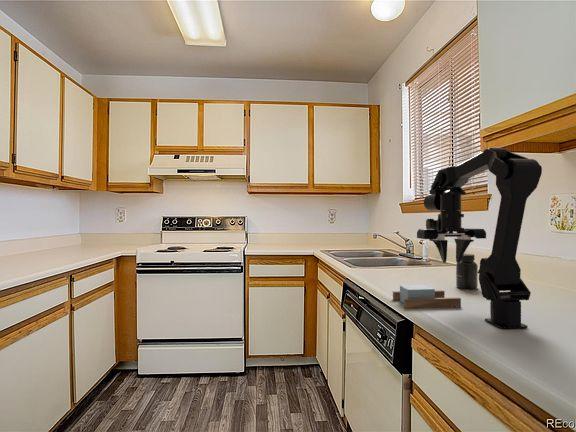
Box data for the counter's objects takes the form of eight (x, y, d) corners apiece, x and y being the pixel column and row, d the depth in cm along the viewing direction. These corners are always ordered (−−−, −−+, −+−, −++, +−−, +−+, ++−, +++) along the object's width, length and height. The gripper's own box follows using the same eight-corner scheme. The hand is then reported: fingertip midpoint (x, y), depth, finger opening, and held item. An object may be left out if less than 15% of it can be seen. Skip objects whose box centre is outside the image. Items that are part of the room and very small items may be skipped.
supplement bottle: (453, 287, 124) (453, 254, 123) (460, 285, 128) (460, 252, 128) (474, 290, 119) (473, 256, 119) (480, 287, 123) (480, 254, 123)
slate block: (434, 306, 100) (434, 289, 100) (407, 307, 100) (407, 289, 100) (425, 301, 106) (425, 284, 106) (400, 301, 106) (399, 285, 106)
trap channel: (460, 307, 98) (460, 298, 98) (405, 308, 98) (405, 299, 98) (442, 298, 109) (442, 290, 109) (392, 299, 108) (392, 291, 108)
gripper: (465, 210, 112) (466, 258, 112) (409, 211, 111) (409, 259, 111) (487, 210, 101) (487, 263, 101) (424, 210, 100) (425, 264, 100)
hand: (451, 262), depth 104 cm, fingers open, 4 cm apart
